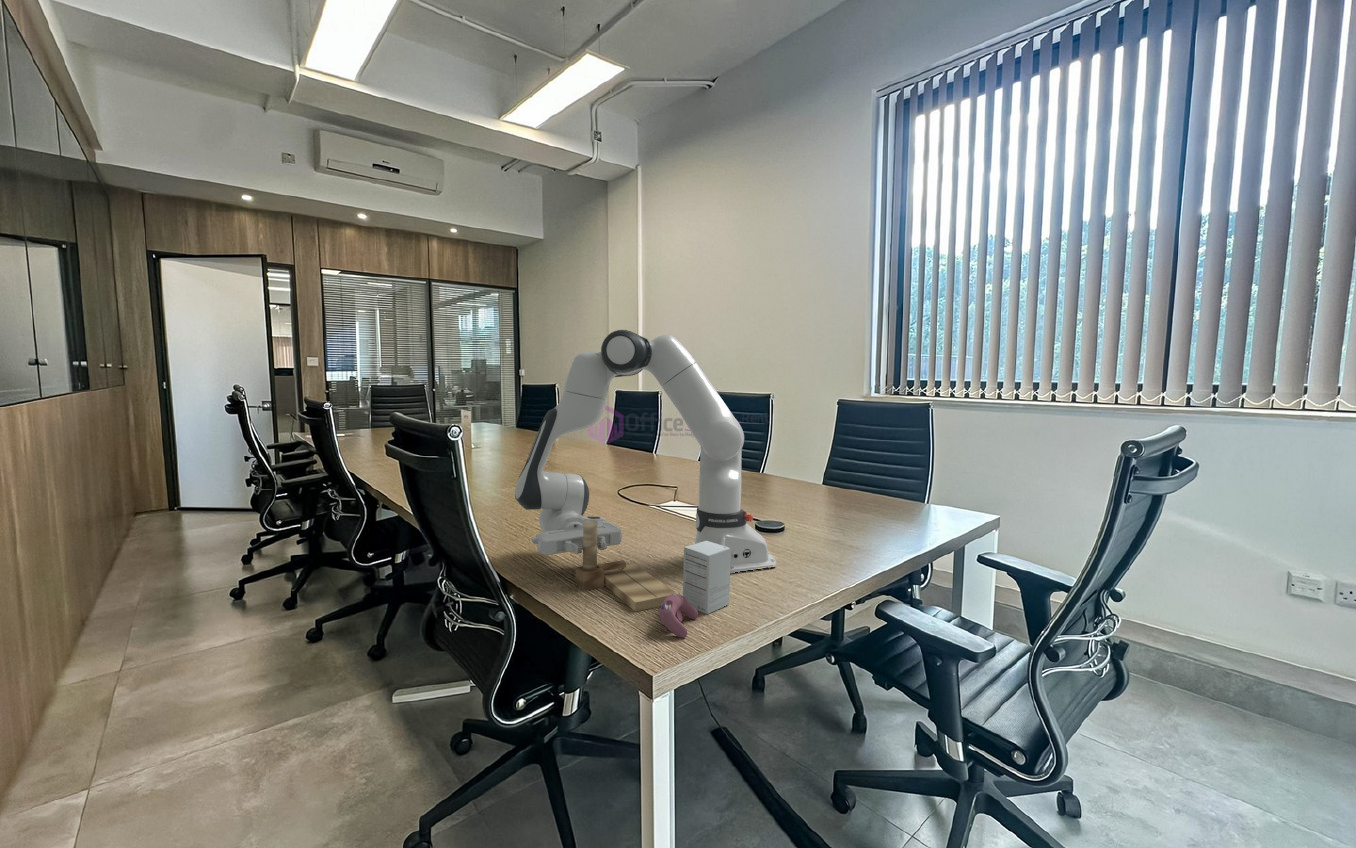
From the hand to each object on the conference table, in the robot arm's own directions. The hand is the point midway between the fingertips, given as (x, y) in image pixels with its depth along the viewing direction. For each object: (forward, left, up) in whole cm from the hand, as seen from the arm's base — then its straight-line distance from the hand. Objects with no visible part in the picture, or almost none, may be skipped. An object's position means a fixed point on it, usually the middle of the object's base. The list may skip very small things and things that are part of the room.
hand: (591, 548), depth 124 cm
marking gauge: (-3, -2, -9) cm, 10 cm away
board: (-10, +3, -9) cm, 13 cm away
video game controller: (-16, +22, -9) cm, 29 cm away
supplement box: (-24, +13, -9) cm, 29 cm away
